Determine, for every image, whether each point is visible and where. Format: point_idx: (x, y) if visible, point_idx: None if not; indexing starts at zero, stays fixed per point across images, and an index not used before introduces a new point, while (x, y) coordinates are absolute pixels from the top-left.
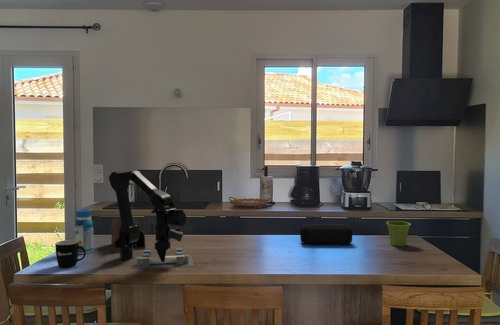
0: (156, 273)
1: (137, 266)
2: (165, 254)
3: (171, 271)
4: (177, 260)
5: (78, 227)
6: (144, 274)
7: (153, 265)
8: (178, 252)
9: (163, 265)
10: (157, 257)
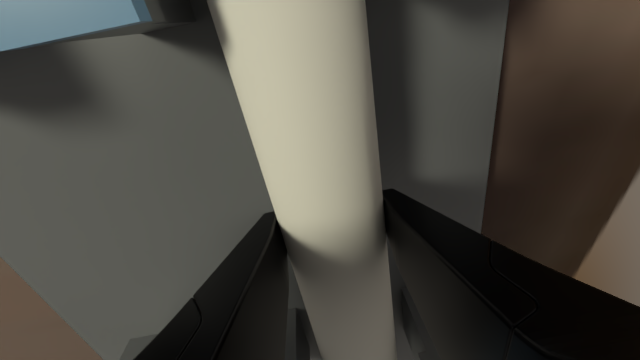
0: (600, 179)
1: (405, 351)
2: (495, 243)
3: (609, 19)
4: None
5: None
6: (579, 261)
7: (395, 261)
8: None
9: (413, 168)
10: (370, 304)
